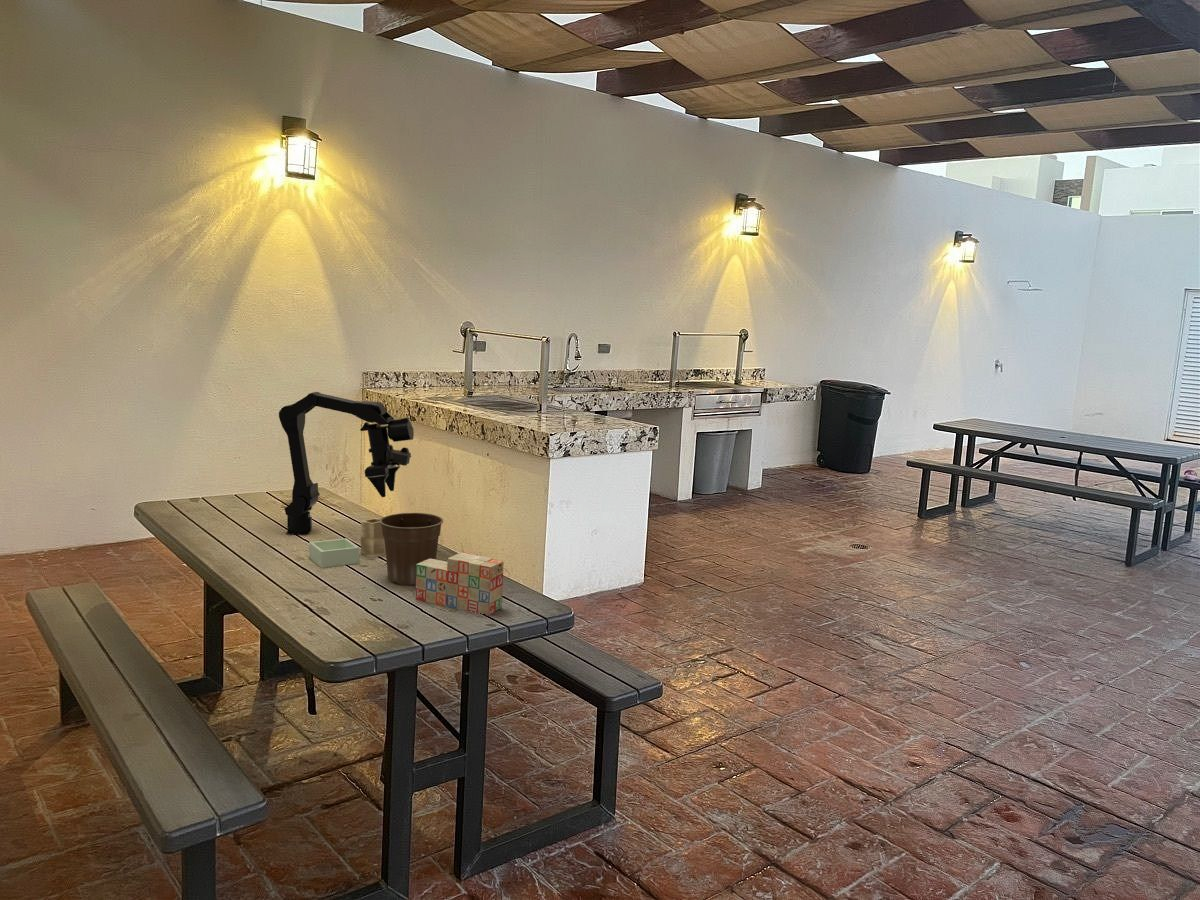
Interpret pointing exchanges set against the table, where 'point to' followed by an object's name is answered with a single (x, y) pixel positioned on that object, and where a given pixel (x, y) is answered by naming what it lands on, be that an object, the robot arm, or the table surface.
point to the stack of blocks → (461, 582)
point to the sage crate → (333, 552)
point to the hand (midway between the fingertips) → (387, 493)
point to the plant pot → (409, 543)
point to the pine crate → (372, 538)
